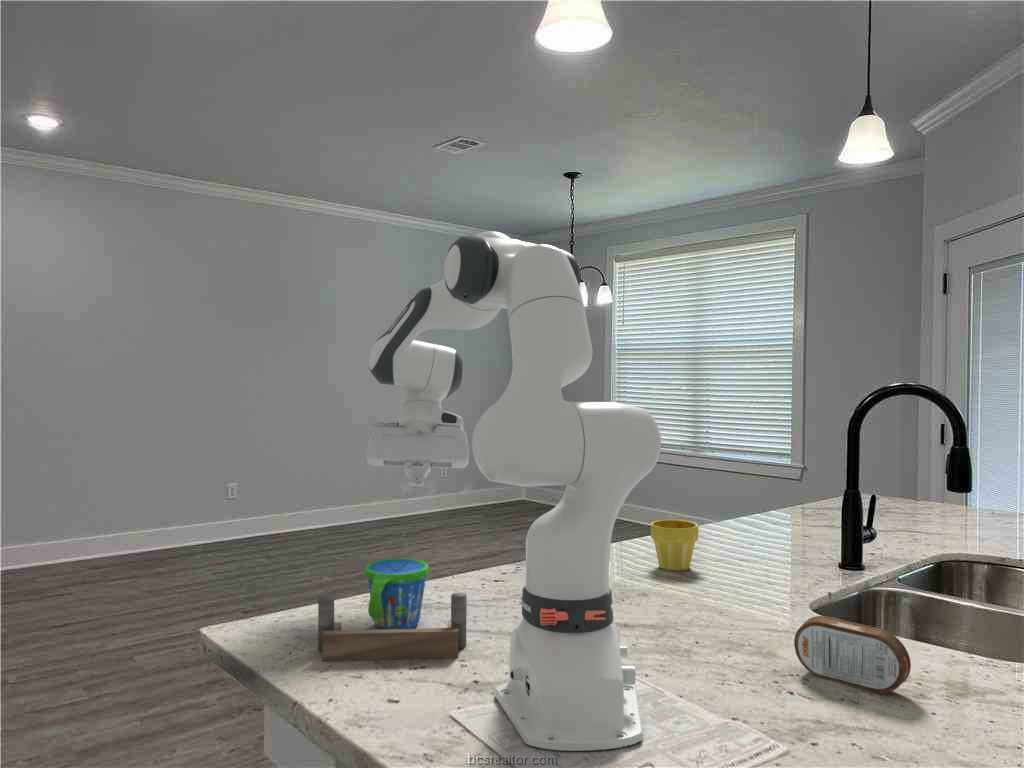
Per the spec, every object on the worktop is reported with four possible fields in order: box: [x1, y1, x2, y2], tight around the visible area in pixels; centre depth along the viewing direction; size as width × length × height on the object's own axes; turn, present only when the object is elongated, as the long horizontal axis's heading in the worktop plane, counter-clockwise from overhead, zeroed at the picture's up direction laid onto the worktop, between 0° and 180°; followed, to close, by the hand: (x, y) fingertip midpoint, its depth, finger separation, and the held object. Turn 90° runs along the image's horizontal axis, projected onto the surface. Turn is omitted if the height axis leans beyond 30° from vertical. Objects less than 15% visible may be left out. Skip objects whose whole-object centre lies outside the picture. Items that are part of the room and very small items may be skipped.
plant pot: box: [650, 519, 699, 572], centre depth 170 cm, size 10×10×10 cm
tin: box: [793, 615, 912, 694], centre depth 106 cm, size 15×3×8 cm, turn 48°
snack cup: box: [364, 557, 430, 630], centre depth 129 cm, size 16×10×10 cm
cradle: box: [317, 592, 468, 662], centre depth 119 cm, size 10×23×8 cm, turn 95°
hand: (416, 484), depth 149 cm, fingers closed
